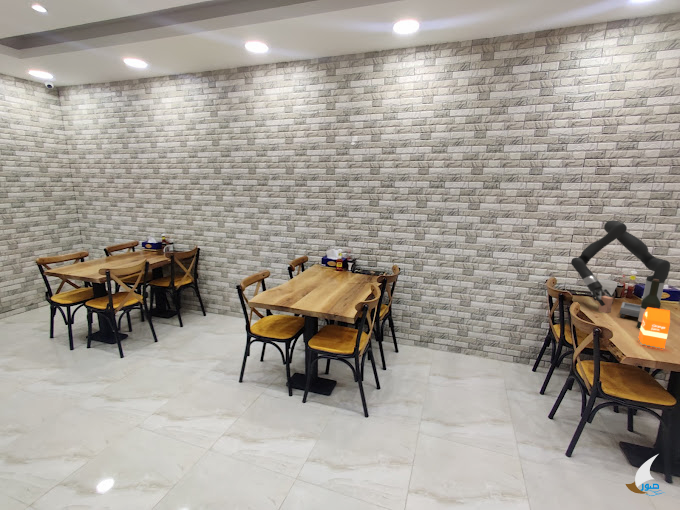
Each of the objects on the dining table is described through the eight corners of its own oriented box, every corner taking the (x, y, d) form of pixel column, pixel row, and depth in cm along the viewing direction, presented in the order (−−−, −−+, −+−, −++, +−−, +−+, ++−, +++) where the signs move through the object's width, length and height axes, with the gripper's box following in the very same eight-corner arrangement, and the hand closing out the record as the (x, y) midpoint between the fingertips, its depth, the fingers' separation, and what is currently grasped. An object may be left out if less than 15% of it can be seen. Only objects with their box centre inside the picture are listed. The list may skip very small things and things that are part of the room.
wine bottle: (650, 326, 193) (661, 278, 187) (658, 332, 186) (670, 282, 179) (633, 324, 196) (643, 276, 190) (640, 330, 188) (651, 280, 182)
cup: (596, 300, 239) (599, 282, 236) (591, 295, 250) (594, 278, 247) (617, 302, 234) (620, 284, 231) (610, 297, 245) (614, 279, 242)
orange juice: (664, 349, 166) (672, 312, 162) (641, 345, 170) (649, 309, 166) (659, 343, 172) (667, 308, 168) (637, 339, 177) (645, 304, 173)
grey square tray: (621, 311, 216) (623, 302, 215) (649, 317, 207) (652, 307, 205) (618, 317, 207) (620, 307, 205) (648, 324, 197) (651, 313, 195)
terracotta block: (598, 310, 218) (600, 296, 216) (602, 309, 220) (605, 295, 218) (605, 313, 214) (608, 298, 212) (610, 312, 216) (613, 298, 214)
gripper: (590, 281, 218) (605, 303, 209) (604, 279, 222) (620, 301, 214) (580, 286, 223) (595, 308, 215) (594, 284, 228) (609, 305, 220)
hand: (607, 304), depth 215 cm, fingers open, 8 cm apart
